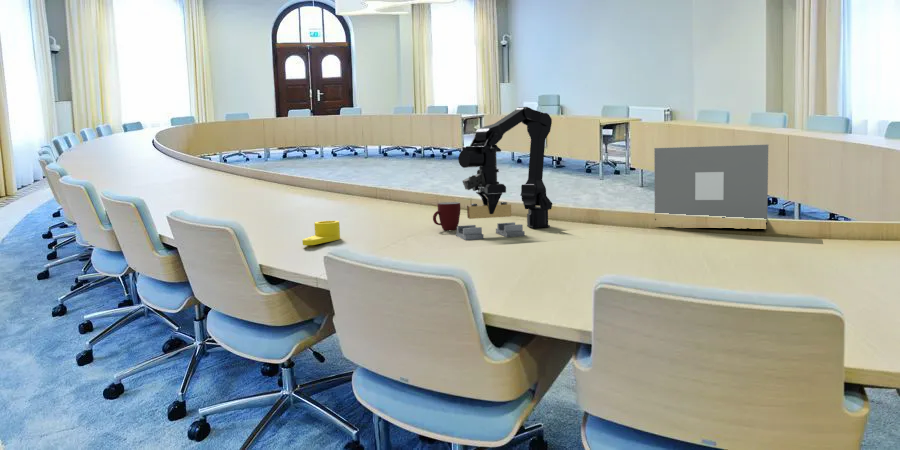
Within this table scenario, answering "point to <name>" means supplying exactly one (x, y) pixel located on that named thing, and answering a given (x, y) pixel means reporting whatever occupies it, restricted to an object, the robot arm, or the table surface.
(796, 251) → the table surface
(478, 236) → the pair of grey blocks
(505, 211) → the link
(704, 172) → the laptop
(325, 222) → the crank
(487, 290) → the table surface
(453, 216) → the mug
